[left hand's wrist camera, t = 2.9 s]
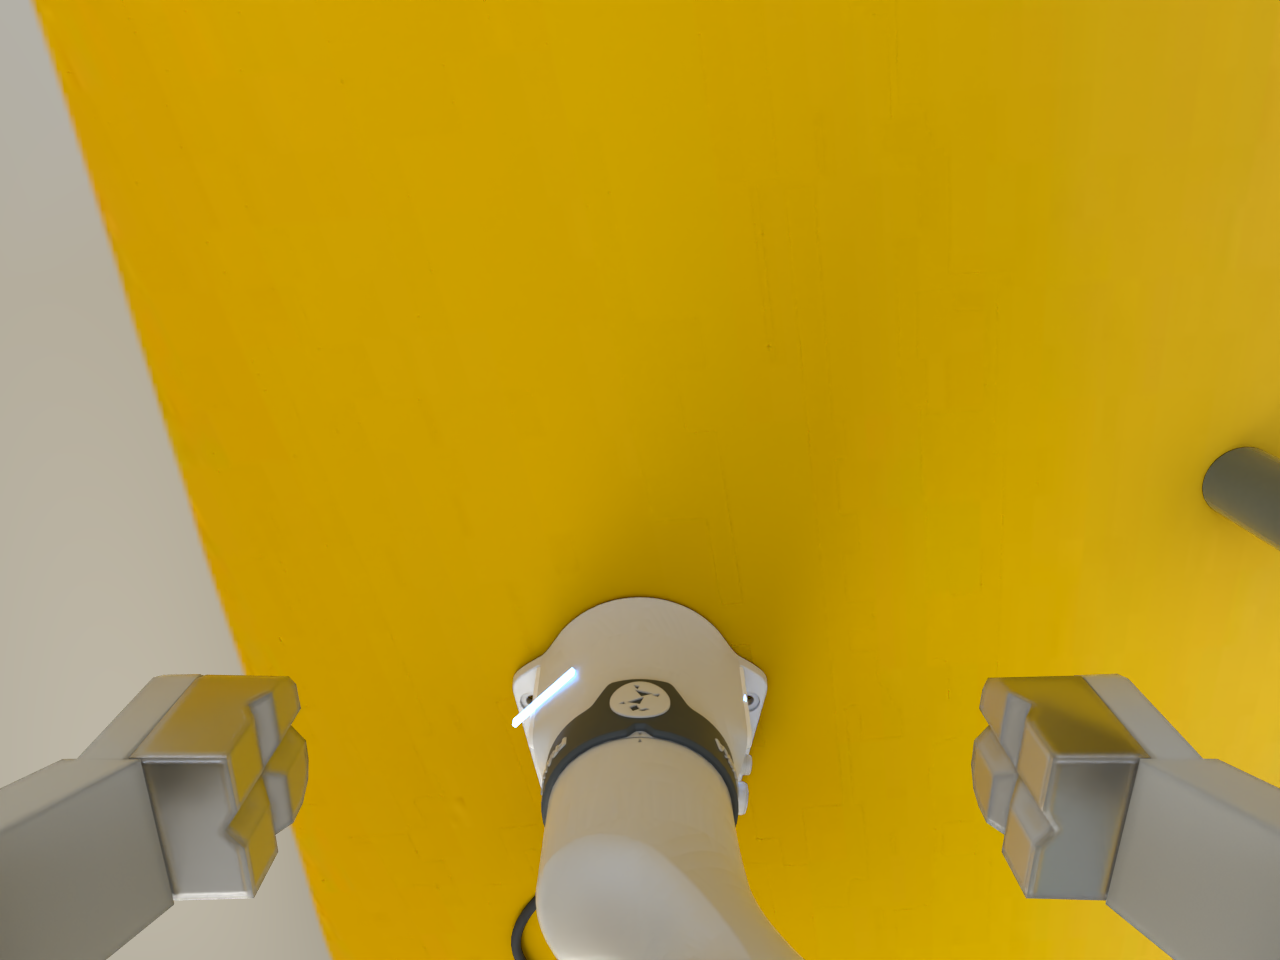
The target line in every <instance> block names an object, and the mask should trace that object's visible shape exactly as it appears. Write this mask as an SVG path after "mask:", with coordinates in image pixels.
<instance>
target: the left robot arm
mask: <svg viewBox="0 0 1280 960" xmlns="http://www.w3.org/2000/svg"><path fill="white" fill-rule="evenodd" d="M513 693H514V696H515V700H516V703H517V707H518V710H519V713H520V714H519V715H517V716H516V717H515V718H514V719H513V723H512V725H513V726H514V727H517V726H518V725H519V724H520V723H521V722H522V724H523V727H524V731H525V734H526V738H527V741H528V745H529V748H530V751H531V755H532V758H533V762H534V765H535V769H536V772H537V776H538V779H539V783H540V786H541V795H542V802H541V804H542V818H543V823H544V826H545V830H544V837H543V845H542V852H541V859H540V866H539V874H538V881H537V888H536V896H535V897H534V898H533V899H532V900H531V901H530V902H529V903H528V905H527V906H526V907H525V909H524V910H523V911H522V913H521V914H520V916H519V918H518V919H517V921H516V923H515V926H514V929H513V932H512V936H511V947H512V952H513V956H514V959H515V960H526V958H525V957H524V954H523V952H522V949H521V936H522V932H523V929H524V927H525V925H526V923H527V921H528V919H529V918H530V916H531V915H532V914H533V912H534V911H535V910H537V916H538V921H539V924H540V927H541V930H542V933H543V935H544V937H545V940H546V942H547V943H548V945H549V947H550V948H551V950H552V952H553V953H554V955H555V957H556V958H557V960H805V959H803V958H802V957H801V956H800V955H799V954H798V953H797V952H796V951H795V950H794V949H793V948H792V947H791V946H790V945H789V944H788V943H787V941H786V940H785V939H784V938H783V937H782V936H781V935H780V934H779V933H778V932H777V930H776V929H775V928H774V927H773V925H772V924H771V923H770V921H769V920H768V919H767V918H766V916H765V915H764V913H763V912H762V910H761V909H760V907H759V906H758V904H757V902H756V900H755V898H754V896H753V894H752V892H751V890H750V887H749V884H748V881H747V877H746V873H745V870H744V866H743V862H742V858H741V854H740V849H739V844H738V839H737V834H736V829H735V826H736V823H737V818H738V815H742V814H745V812H746V809H747V804H748V785H747V783H745V782H742V781H741V779H742V776H743V775H750V773H751V769H752V757H751V755H749V752H750V748H751V745H752V741H753V738H754V734H755V731H756V727H757V724H758V720H759V717H760V714H761V710H762V707H763V703H764V700H765V696H766V693H767V678H766V675H765V674H764V672H763V671H762V670H761V669H759V668H758V667H757V666H755V665H754V664H752V663H751V662H749V661H747V660H745V659H744V658H742V657H740V656H738V655H737V654H736V653H735V652H734V651H733V650H732V649H731V647H730V646H729V645H728V643H727V642H726V640H725V639H724V638H723V636H722V635H721V634H720V632H719V631H718V630H717V629H716V628H715V627H714V626H713V625H712V624H711V623H710V622H709V621H708V620H706V619H705V618H704V617H702V616H701V615H699V614H698V613H696V612H695V611H693V610H691V609H689V608H687V607H685V606H683V605H680V604H677V603H674V602H671V601H667V600H663V599H657V598H648V597H631V598H623V599H617V600H613V601H609V602H606V603H603V604H600V605H598V606H595V607H593V608H591V609H589V610H587V611H585V612H584V613H582V614H581V615H579V616H578V617H576V618H575V619H574V620H572V621H571V622H570V623H569V624H568V625H567V626H566V627H565V628H564V629H563V630H562V631H561V632H560V634H559V635H558V636H557V638H556V639H555V641H554V642H553V643H552V645H551V646H550V647H549V649H548V650H547V651H546V652H545V653H544V654H543V655H542V656H540V657H538V658H536V659H535V660H533V661H531V662H530V663H528V664H526V665H525V666H523V667H522V668H521V669H519V670H518V671H517V672H516V674H515V675H514V678H513ZM531 695H533V700H532V699H530V698H528V696H531ZM747 695H749V696H752V698H750V699H748V700H747ZM300 709H301V707H300V702H299V697H298V692H297V687H296V684H295V683H294V682H293V681H292V679H291V678H290V677H289V676H244V675H205V676H204V675H201V674H181V675H161V676H157V677H154V678H152V679H151V680H150V681H149V682H148V684H147V685H146V686H145V687H144V688H143V689H142V690H141V691H140V692H139V693H138V694H137V695H136V696H135V697H134V698H133V700H132V701H131V702H130V703H129V704H128V705H127V706H126V707H125V708H124V709H123V710H122V711H121V712H120V713H119V714H118V716H117V717H116V718H115V719H114V720H113V721H112V722H111V723H110V724H109V725H108V726H107V727H106V728H105V730H104V731H103V732H102V733H101V734H100V735H99V736H98V737H97V738H96V739H95V740H94V741H93V742H92V743H91V744H90V745H89V746H88V748H87V749H86V750H85V751H84V752H83V753H82V754H81V755H80V756H79V757H78V758H77V759H62V760H60V761H57V762H55V763H53V764H51V765H49V766H47V767H45V768H43V769H40V770H38V771H36V772H34V773H32V774H30V775H28V776H26V777H24V778H21V779H19V780H17V781H15V782H13V783H11V784H9V785H7V786H4V787H2V788H0V960H106V959H108V958H109V957H110V956H111V955H112V954H114V953H115V952H116V951H117V950H119V949H120V948H121V947H122V946H123V945H125V944H126V943H127V942H128V941H130V940H131V939H132V938H133V937H135V936H136V935H137V934H138V933H140V932H141V931H142V930H143V929H144V928H146V927H147V926H148V925H149V924H151V923H152V922H153V921H154V920H156V919H157V918H158V917H159V916H160V915H162V914H163V913H164V912H165V911H167V910H168V909H169V908H170V907H171V906H173V905H174V901H173V900H201V899H236V898H254V897H255V895H256V893H257V891H258V889H259V887H260V885H261V883H262V882H263V880H264V878H265V876H266V874H267V872H268V870H269V868H270V866H271V864H272V863H273V861H274V859H275V857H276V855H277V853H278V848H277V842H276V836H275V835H276V834H277V833H279V832H280V831H282V830H283V829H284V828H286V827H287V826H289V825H290V824H292V823H293V822H294V820H295V818H296V816H297V814H298V812H299V810H300V808H301V806H302V803H303V799H304V794H305V790H306V786H307V781H308V752H307V745H306V740H305V739H304V738H303V737H302V736H301V735H300V734H299V733H298V732H297V731H296V730H295V729H294V728H293V727H292V726H291V724H292V722H293V720H294V719H295V717H296V715H297V714H298V712H299V710H300ZM979 709H980V710H981V712H982V714H983V715H984V717H985V719H986V720H987V722H988V724H989V726H988V727H987V728H986V729H985V730H984V731H983V732H982V733H981V734H980V735H979V736H978V737H977V738H976V739H975V740H974V746H973V755H972V763H971V767H972V778H973V789H974V792H975V795H976V799H977V802H978V806H979V808H980V810H981V812H982V814H983V816H984V818H985V820H986V822H987V823H988V824H990V825H991V826H993V827H994V828H995V829H997V830H998V831H1000V832H1001V833H1003V834H1004V835H1005V836H1004V842H1003V848H1002V853H1003V855H1004V857H1005V859H1006V861H1007V863H1008V864H1009V866H1010V868H1011V870H1012V872H1013V874H1014V876H1015V878H1016V880H1017V882H1018V883H1019V885H1020V887H1021V889H1022V891H1023V893H1024V895H1025V897H1026V898H1042V899H1078V900H1106V905H1108V906H1109V907H1110V908H1111V909H1113V910H1114V911H1115V912H1116V913H1117V914H1119V915H1120V916H1121V917H1122V918H1124V919H1125V920H1126V921H1127V922H1129V923H1130V924H1131V925H1132V926H1133V927H1135V928H1136V929H1137V930H1138V931H1140V932H1141V933H1142V934H1143V935H1144V936H1146V937H1147V938H1148V939H1149V940H1151V941H1152V942H1153V943H1154V944H1156V945H1157V946H1158V947H1159V948H1160V949H1162V950H1163V951H1164V952H1165V953H1167V954H1168V955H1169V956H1170V957H1172V958H1173V959H1174V960H1280V788H1277V787H1275V786H1273V785H1271V784H1269V783H1267V782H1265V781H1263V780H1261V779H1258V778H1256V777H1254V776H1252V775H1250V774H1248V773H1246V772H1244V771H1242V770H1239V769H1237V768H1235V767H1233V766H1231V765H1229V764H1227V763H1225V762H1223V761H1220V760H1218V759H1203V758H1202V757H1201V756H1200V755H1199V754H1198V753H1197V752H1196V751H1195V750H1194V749H1193V748H1192V746H1191V745H1190V744H1189V743H1188V742H1187V741H1186V740H1185V739H1184V738H1183V737H1182V736H1181V735H1180V734H1179V733H1178V731H1177V730H1176V729H1175V728H1174V727H1173V726H1172V725H1171V724H1170V723H1169V722H1168V721H1167V720H1166V719H1165V718H1164V717H1163V715H1162V714H1161V713H1160V712H1159V711H1158V710H1157V709H1156V708H1155V707H1154V706H1153V705H1152V704H1151V703H1150V702H1149V700H1148V699H1147V698H1146V697H1145V696H1144V695H1143V694H1142V693H1141V692H1140V691H1139V690H1138V689H1137V688H1136V687H1135V686H1134V684H1133V683H1132V682H1131V681H1130V680H1129V679H1128V678H1126V677H1123V676H1121V675H1118V674H1099V675H1074V676H1045V677H1003V678H988V679H987V681H986V683H985V685H984V688H983V690H982V695H981V701H980V707H979Z"/></svg>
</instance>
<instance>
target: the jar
mask: <svg viewBox="0 0 1280 960" xmlns="http://www.w3.org/2000/svg"><path fill="white" fill-rule="evenodd" d="M1203 495H1204V498H1205V501H1206V502H1207V504H1208V505H1209V506H1210V507H1211V508H1212V509H1213V510H1215V511H1216V512H1218V513H1220V514H1221V515H1223V516H1224V517H1226V518H1228V519H1229V520H1231V521H1232V522H1234V523H1236V524H1237V525H1239V526H1240V527H1242V528H1244V529H1245V530H1247V531H1248V532H1250V533H1252V534H1253V535H1255V536H1256V537H1258V538H1260V539H1261V540H1263V541H1264V542H1266V543H1268V544H1269V545H1271V546H1272V547H1274V548H1276V549H1277V550H1279V551H1280V458H1278V457H1276V456H1274V455H1272V454H1269V453H1267V452H1265V451H1263V450H1261V449H1258V448H1254V447H1243V448H1238V449H1234V450H1232V451H1229V452H1227V453H1225V454H1224V455H1222V456H1221V457H1219V458H1218V459H1217V460H1216V461H1215V462H1214V463H1213V464H1212V465H1211V467H1210V468H1209V469H1208V471H1207V473H1206V475H1205V478H1204V481H1203Z"/></svg>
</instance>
